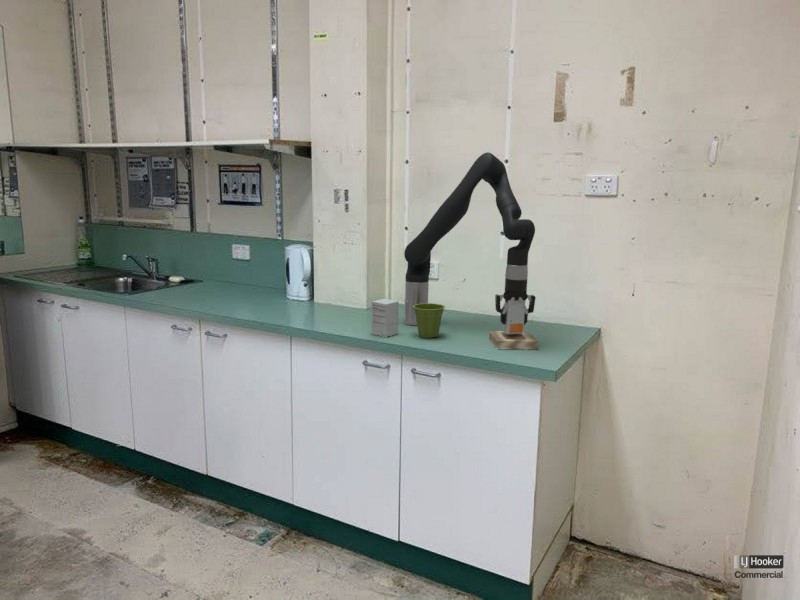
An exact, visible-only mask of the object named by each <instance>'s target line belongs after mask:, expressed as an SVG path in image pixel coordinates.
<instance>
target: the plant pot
mask: <svg viewBox="0 0 800 600" xmlns="http://www.w3.org/2000/svg"><path fill="white" fill-rule="evenodd" d="M413 308H414V310H415V314H416V319H417V325H416V327H417V330H418V336H419V337H421V338H423V337H425V339H426V338H427V339H431V338H438V337H439V333H440V328H441V322H442V315H443V314H444V309H446V306H445V305H443V304H440V303H431V302H428V303H424V304H416V305H413Z"/></svg>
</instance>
